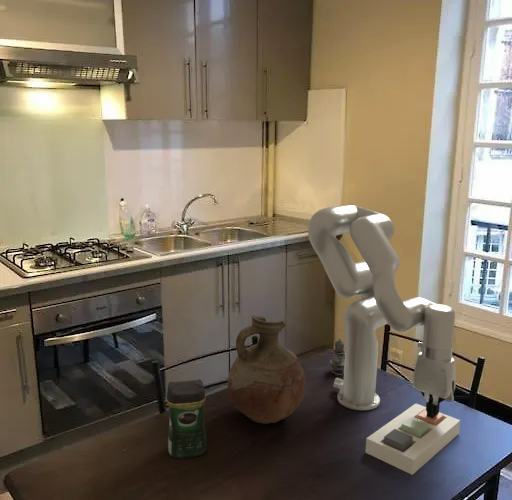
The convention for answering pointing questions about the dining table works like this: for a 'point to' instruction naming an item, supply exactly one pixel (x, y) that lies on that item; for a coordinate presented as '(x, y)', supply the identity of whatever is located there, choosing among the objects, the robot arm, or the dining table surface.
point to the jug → (265, 375)
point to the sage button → (415, 427)
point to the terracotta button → (433, 421)
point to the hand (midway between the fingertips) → (432, 415)
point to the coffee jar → (186, 418)
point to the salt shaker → (338, 358)
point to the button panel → (420, 448)
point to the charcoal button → (398, 440)
